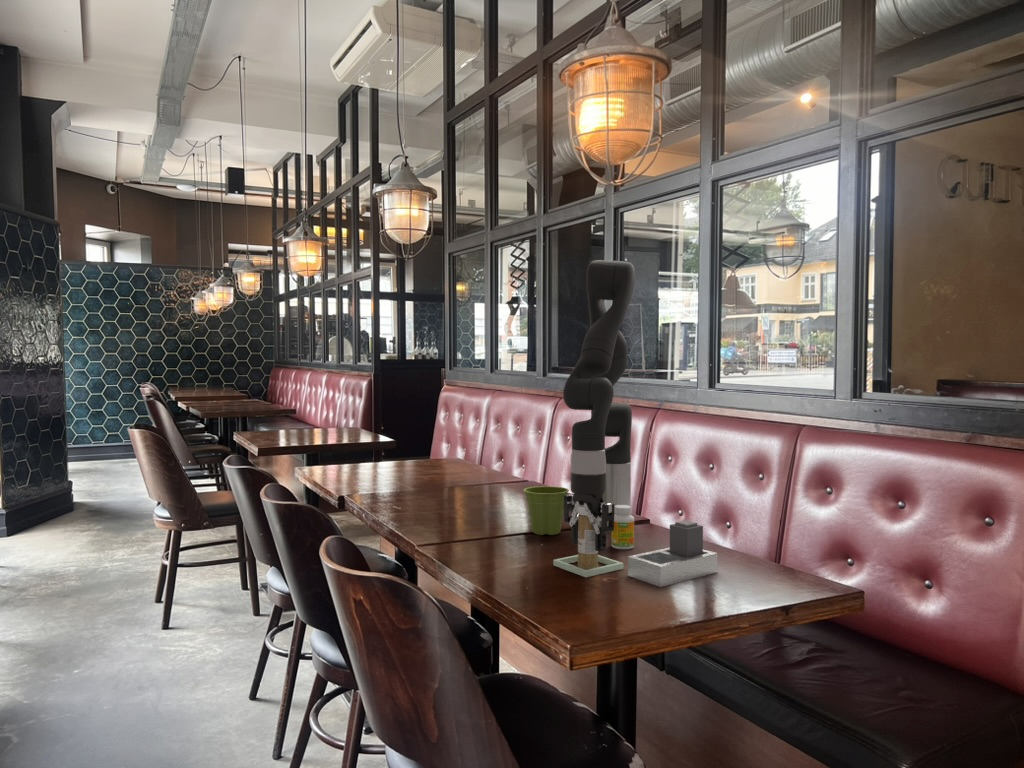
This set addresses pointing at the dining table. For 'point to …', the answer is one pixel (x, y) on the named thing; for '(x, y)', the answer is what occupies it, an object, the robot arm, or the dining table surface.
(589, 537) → the sprinkles bottle
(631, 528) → the supplement bottle
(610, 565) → the tray frame
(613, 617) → the dining table surface
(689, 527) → the grey stepped square plug
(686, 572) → the divided grey caddy
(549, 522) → the plant pot
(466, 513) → the dining table surface
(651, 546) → the dining table surface
